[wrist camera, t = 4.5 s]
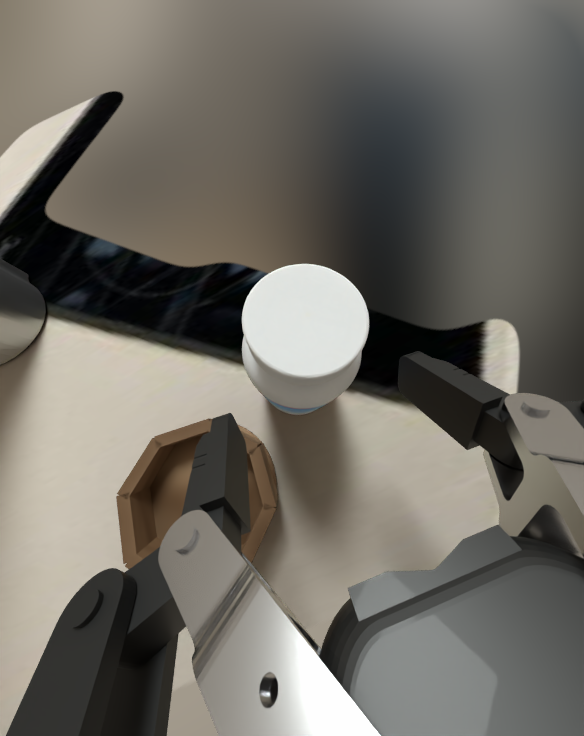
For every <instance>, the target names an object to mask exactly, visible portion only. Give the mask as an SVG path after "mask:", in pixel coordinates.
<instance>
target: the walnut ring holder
mask: <svg viewBox="0 0 584 736" xmlns="http://www.w3.org/2000/svg"><path fill="white" fill-rule="evenodd" d="M211 423H212V419H206V420H203V421H200V422H197V423H194V424H191V425H188V426H185V427H182V428H179V429H176V430H173V431H170V432H167V433H164V434H161V435H158V436H155V438H152V440H151V441H150V443H149V444H148V446H147V448H146V449H145V451H144V452H143V454H142V455H141V457H140V459H139V460H138V462H137V463H136V465H135V466H134V468H133V470H132V471H131V473H130V474H129V476H128V477H127V479H126V481H125V482H124V484H123V485H122V487H121V488H120V490H119V492H118V493H117V494H118V495H119V496H116V498H117V507H118V516H119V525H120V535H121V544H122V553H123V563H124V564H125V563H127V564H126V566H125V567H127V568H128V569H130V568H132V567H133V566H134V565H136V564H137V563H139V562H140V561H141V560H143V559H144V558H145V557H147V556H148V555H149V554H151V553H152V552H154V551H155V550H156V549H157V548H159V547H160V546H161V543H162V541H163V539H164V537H165V535H166V533H167V532H168V530H169V529H170V527H171V526H172V525H173V524H174V523H175V522H176V521H177V520H178V519H179V518H180V517H181V515H182V511H183V506H184V502H185V497H186V492H187V487H188V483H189V478H190V473H191V471H192V464H193V460H194V454H195V450H196V446H197V444H198V442H199V441H200V439H201V438H202V436H203V434H206V433H209V432H210V430H211ZM238 427H239V429H240V431H241V433H242V435H243V437H244V439H245V443H246V448H247V464H248V484H249V505H250V525H251V532H248V533H246V534H243V535H241V551H242V552H243V553H244V555H245V556H246V557H247V558H248V560H249V561H250V562H251V563H252V561H253V559H254V557H255V554H256V552H257V550H258V548H259V546H260V543H261V541H262V539H263V537H264V535H265V532H266V530H267V528H268V526H269V524H270V521H271V519H272V517H273V515H274V513H275V510H276V507H277V501H278V493H277V480H276V473H275V468H274V464H273V462H272V459H271V456H270V454H269V452H268V450H267V449H266V447H265V446H264V444H263V443H262V441H260V440H259V439H258V438H257V437H256V436H255V435H254V434H253V433H252V432H250V431H249V430H247V429H246V428H244V427H241V426H239V425H238Z"/></svg>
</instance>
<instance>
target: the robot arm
mask: <svg viewBox="0 0 584 736" xmlns="http://www.w3.org/2000/svg"><path fill="white" fill-rule="evenodd" d="M45 313H46V310H45V302H44V299H43V296H42V294H41V293H40V292H39V290H38V289H37V288H35V287H34V286H33V285H31V284H30V283H29V280H28V274H26V273H25V272H23V271H21V270H19V269H17V268H16V267H14V266H12V265H10V264H9V263H7V262H5V261H3V260H1V259H0V365H1V364H3V363H5V362H7V361H9V360H11V359H12V358H14V357H16V356H17V355H18V354H20V353H21V352H22V351H23V350H25V349H26V348H27V347H28V346H29V345H30V343H31V342H32V341H33V340H34V339H35V337H36V336H37V334H38V333H39V331H40V329H41V327H42V324H43V322H44V318H45ZM398 386H399V389H400V391H401V393H402V394H403V396H405V397H406V398H407V399H408V400H409V401H410V402H412V403H413V404H414V405H415V406H416V407H417V408H419V409H420V410H421V411H422V412H423V413H424V414H426V415H427V416H428V417H429V418H430V419H431V420H433V421H434V422H435V423H436V424H437V425H438V426H440V427H441V428H442V429H443V430H444V431H445V432H447V433H448V434H449V435H450V436H451V437H452V438H454V439H455V440H456V441H457V442H458V443H459V444H461V445H462V446H463V447H464V448H465V449H466V450H469V449H471V448H474V447H477V446H479V445H480V446H481V447H483V448H484V452H483V456H484V459H485V463H486V466H487V469H488V472H489V475H490V478H491V481H492V485H493V488H494V491H495V494H496V497H497V500H498V504H499V511H500V513H499V525H496V526H494V527H491V528H489V529H487V530H484V531H482V532H480V533H477V534H475V535H472V536H470V537H468V538H465V539H463V540H462V541H461V542H460V543H459V544H458V546H457V547H456V548H455V549H454V550H453V551H452V552H451V553H450V554H449V555H448V556H447V557H446V559H445V560H444V561H443V562H442V563H441V564H440V565H439V566H438V567H437V568H436V569H434V570H425V571H394V572H385V573H382V574H380V575H378V576H375V577H373V578H371V579H368V580H366V581H364V582H361V583H359V584H356V585H354V586H352V587H349V588H348V591H349V594H350V599H349V600H348V601H347V602H346V603H345V604H344V605H343V606H342V608H341V609H340V610H339V612H338V613H337V615H336V616H335V618H334V620H333V621H332V624H331V625H330V627H329V630H328V632H327V634H326V637H325V639H324V643H323V645H322V649H321V648H320V646H319V645H318V644H317V643H316V642H315V640H314V639H313V638H312V637H311V635H310V634H309V633H308V632H307V630H306V629H305V628H304V627H303V625H302V624H301V623H300V622H299V621H298V619H297V618H296V617H295V616H294V614H293V613H292V612H291V611H290V610H289V609H288V607H287V606H286V605H285V604H284V603H283V602H282V600H281V599H280V598H279V597H278V595H277V594H276V593H275V592H274V591H273V589H272V588H271V587H270V586H269V584H268V583H267V582H266V581H265V579H264V578H263V577H262V576H261V574H260V573H259V572H258V571H257V570H256V568H255V567H254V566H253V565H252V563H251V562H250V561H249V560H248V558H247V557H246V556H245V555H244V553H243V552H242V551H241V535H243V534H246V533H248V532H251V525H250V505H249V484H248V464H247V448H246V443H245V439H244V437H243V435H242V433H241V431H240V429H239V427H238V425H237V423H236V421H235V419H234V417H233V415H232V414H231V413H228V414H225V415H222V416H219V417H216V418H213V419H212V423H211V430H210V432H209V433H206V434H203V436H202V438H201V439H200V441H199V442H198V444H197V446H196V450H195V454H194V460H193V464H192V471H191V473H190V478H189V483H188V487H187V492H186V497H185V502H184V506H183V511H182V515H181V517H180V518H179V519H178V520H177V521H176V522H175V523H174V524H173V525H172V526H171V527H170V529H169V530H168V532H167V533H166V535H165V537H164V539H163V541H162V543H161V546H160V547H159V548H157V549H156V550H155V551H154V552H152V553H151V554H149V555H148V556H147V557H145V558H144V559H143V560H141V561H140V562H139V563H137V564H136V565H134V566H133V567H132V568H130V569H129V570H128V571H126V572H125V573H124V572H122V571H120V570H118V569H114V568H111V569H107V570H104V571H102V572H100V573H98V574H97V575H95V576H94V577H93V578H91V579H90V580H89V581H88V582H87V583H86V584H85V585H84V586H82V587H81V589H80V590H79V591H78V592H77V593H76V594H75V595H74V597H73V598H72V599H71V601H70V602H69V603H68V605H67V606H66V608H65V609H64V611H63V613H62V614H61V616H60V618H59V620H58V622H57V624H56V626H55V628H54V631H53V633H52V635H51V637H50V639H49V642H48V644H47V646H46V648H45V651H44V653H43V655H42V657H41V659H40V662H39V664H38V666H37V668H36V670H35V673H34V675H33V677H32V679H31V681H30V684H29V686H28V688H27V690H26V693H25V695H24V697H23V699H22V701H21V704H20V706H19V708H18V710H17V712H16V715H15V717H14V719H13V721H12V723H11V726H10V728H9V730H8V732H7V735H6V736H167V727H168V718H169V709H170V701H171V693H172V685H173V676H174V667H175V659H176V650H177V642H178V633H179V632H180V631H181V630H182V629H184V628H185V627H186V626H187V629H188V631H189V633H190V635H191V638H192V640H193V643H194V647H195V652H194V654H193V657H192V665H193V670H194V674H195V678H196V681H197V683H198V686H199V688H200V691H201V693H202V696H203V698H204V701H205V703H206V706H207V708H208V710H209V712H210V715H211V718H212V720H213V723H214V725H215V727H216V730H217V733H218V735H219V736H584V400H583V401H572V402H559V403H558V402H556V401H554V400H552V399H549V398H547V397H544V396H540V395H536V394H529V393H516V394H511V395H510V394H508V393H506V392H504V391H502V390H500V389H498V388H496V387H494V386H492V385H490V384H489V383H487V382H485V381H483V380H481V379H479V378H477V377H475V376H473V375H471V374H470V375H469V374H468V373H467V372H465V371H463V370H461V369H458V367H456V366H454V365H452V364H450V363H448V362H445V361H442V360H438V359H434V358H431V357H429V356H427V355H425V354H423V353H421V352H415V353H412V354H409V355H406V356H403V357H401V358H400V360H399V375H398Z"/></svg>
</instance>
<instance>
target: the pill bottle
mask: <svg viewBox="0 0 584 736" xmlns="http://www.w3.org/2000/svg"><path fill="white" fill-rule="evenodd" d="M242 328H243V333H244V338H243V344H242V357H243V362H244V367H245V370H246V372H247V374H248V376H249V378H250V380H251V381H252V383H253V384H254V386H255V387H256V388H257V389H258V391H259V392H260V393H261V394H262V395H263V396H264V397H265V398H266V399H267V400H268V401H269V402H270V403H271V404H272V405H273V406H274V407H276V408H277V409H279V410H280V411H282V412H285V413H288V414H292V415H303V414H307V413H310V412H313V411H315V410H317V409H319V408H320V407H322V406H324V405H326V404H327V403H329V402H331V401H332V400H334V399H336V398H337V397H338V396H339V395H341V394H342V393H343V392H344V391H345V390H346V389H347V388H348V387H349V385H350V384H351V383H352V381H353V380H354V378H355V376H356V374H357V372H358V369H359V366H360V362H361V352H362V349H363V347H364V344H365V342H366V339H367V335H368V329H369V316H368V311H367V307H366V304H365V302H364V300H363V298H362V296H361V294H360V293H359V291H358V290H357V288H356V287H355V286H354V285H353V284H352V283H351V282H350V281H349V280H347V279H346V278H345V277H344V276H342V275H340V274H339V273H337V272H335V271H333V270H331V269H329V268H326V267H323V266H318V265H312V264H297V265H290V266H286V267H282V268H280V269H277V270H275V271H273V272H271V273H269V274H268V275H266V276H265V277H264V278H262V279H261V280H260V281H259V282H258V283H257V284H256V285H255V286H254V288H253V289H252V290H251V292H250V294H249V295H248V297H247V299H246V302H245V304H244V308H243V313H242Z"/></svg>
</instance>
